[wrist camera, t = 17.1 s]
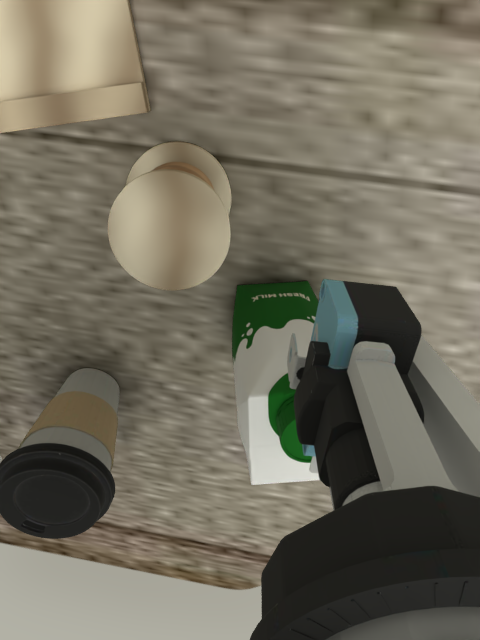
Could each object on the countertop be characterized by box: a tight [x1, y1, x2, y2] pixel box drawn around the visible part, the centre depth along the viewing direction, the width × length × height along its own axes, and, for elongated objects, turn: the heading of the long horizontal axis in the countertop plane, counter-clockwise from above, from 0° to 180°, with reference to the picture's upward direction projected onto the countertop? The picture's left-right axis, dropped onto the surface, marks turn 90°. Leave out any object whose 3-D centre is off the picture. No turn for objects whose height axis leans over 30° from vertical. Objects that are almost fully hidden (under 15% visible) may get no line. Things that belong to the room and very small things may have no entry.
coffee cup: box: [0, 368, 120, 539], centre depth 42 cm, size 9×9×15 cm
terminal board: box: [0, 0, 151, 133], centre depth 31 cm, size 14×14×3 cm
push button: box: [250, 279, 480, 640], centre depth 10 cm, size 7×5×10 cm
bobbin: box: [108, 141, 232, 290], centre depth 34 cm, size 9×9×11 cm
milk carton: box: [232, 281, 320, 485], centre depth 37 cm, size 9×9×20 cm
